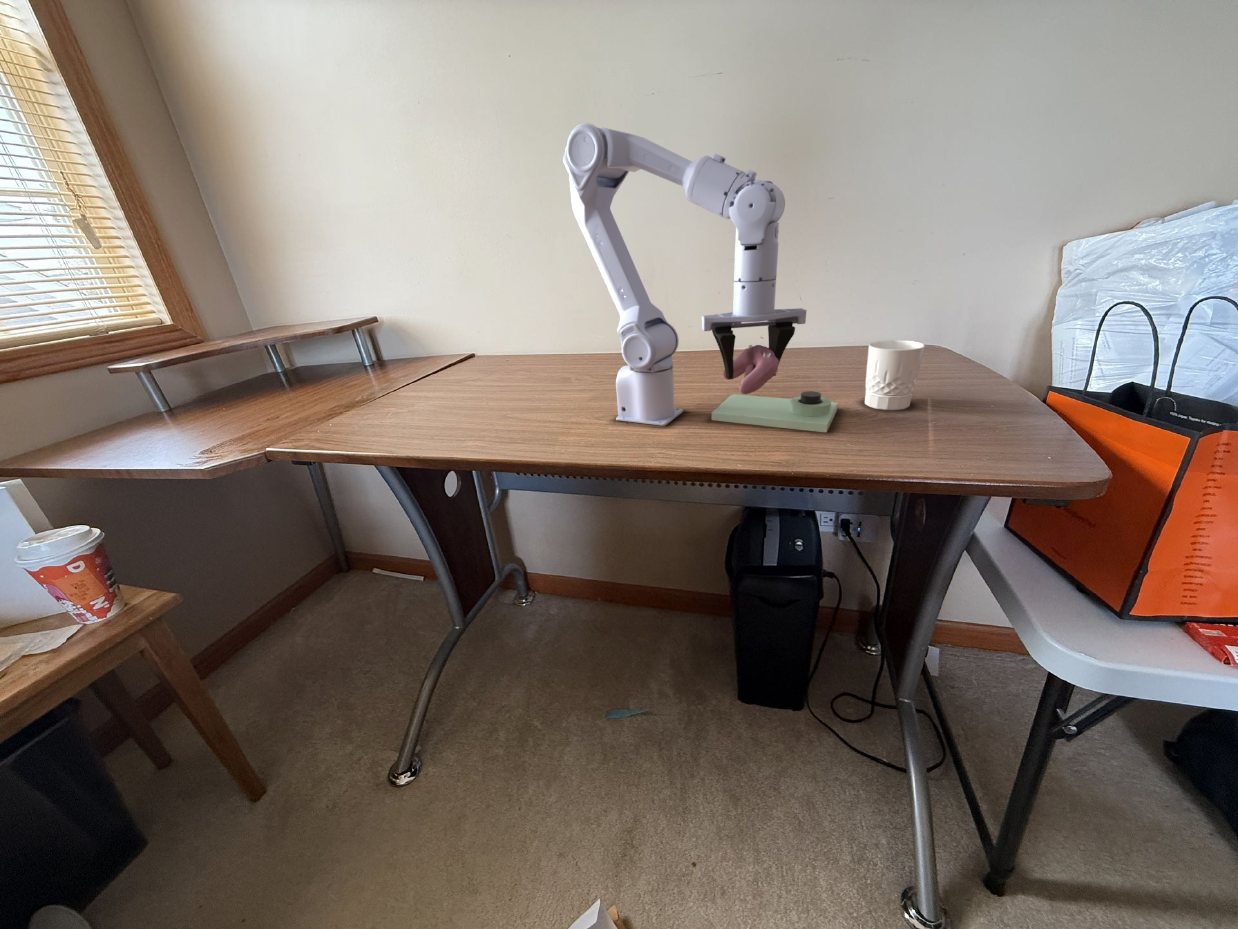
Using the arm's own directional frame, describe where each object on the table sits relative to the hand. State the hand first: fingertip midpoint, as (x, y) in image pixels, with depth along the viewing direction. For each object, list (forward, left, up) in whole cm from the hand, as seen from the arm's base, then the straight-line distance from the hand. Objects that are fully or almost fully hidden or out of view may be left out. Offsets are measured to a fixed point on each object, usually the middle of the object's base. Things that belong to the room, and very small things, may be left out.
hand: (750, 375), depth 72 cm
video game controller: (0, 0, -2) cm, 2 cm away
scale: (+2, +7, -8) cm, 11 cm away
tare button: (+8, +7, -6) cm, 12 cm away
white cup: (+18, +18, -9) cm, 27 cm away
